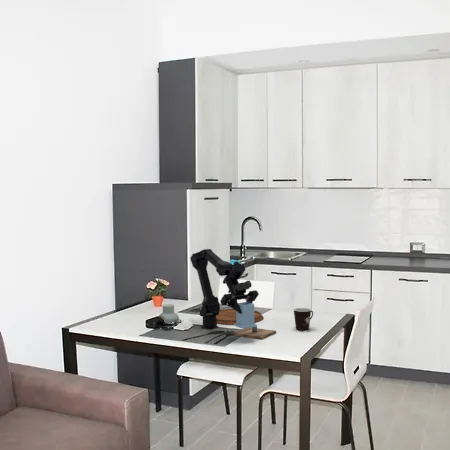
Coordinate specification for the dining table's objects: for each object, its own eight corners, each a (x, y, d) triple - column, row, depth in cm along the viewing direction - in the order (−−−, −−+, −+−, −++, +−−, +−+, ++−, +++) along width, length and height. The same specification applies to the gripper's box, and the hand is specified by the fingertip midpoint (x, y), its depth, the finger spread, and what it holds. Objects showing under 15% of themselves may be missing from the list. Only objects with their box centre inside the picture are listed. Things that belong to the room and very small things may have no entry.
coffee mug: (297, 332, 300) (297, 312, 299) (291, 328, 308) (290, 308, 307) (319, 330, 303) (319, 310, 302) (312, 326, 311) (312, 307, 311)
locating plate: (233, 335, 295) (233, 326, 295) (247, 329, 307) (247, 321, 307) (262, 339, 287) (262, 330, 286) (276, 333, 298) (276, 324, 298)
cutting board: (243, 328, 310) (243, 323, 310) (192, 321, 328) (192, 316, 328) (274, 316, 337) (274, 312, 336) (225, 310, 354) (225, 306, 354)
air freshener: (156, 323, 323) (156, 304, 322) (169, 320, 328) (169, 302, 327) (167, 326, 314) (167, 307, 314) (180, 324, 319) (180, 305, 319)
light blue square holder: (234, 325, 286) (233, 303, 285) (247, 323, 290) (247, 301, 289) (243, 328, 280) (243, 306, 279) (256, 326, 284) (256, 304, 283)
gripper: (223, 277, 281) (236, 304, 273) (256, 273, 291) (270, 300, 283) (214, 291, 289) (227, 319, 280) (247, 287, 299) (260, 313, 290)
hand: (246, 312), depth 283 cm, fingers closed on light blue square holder, 6 cm apart
